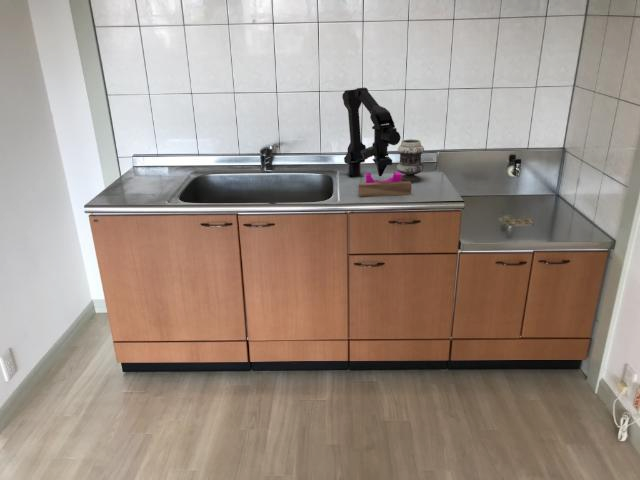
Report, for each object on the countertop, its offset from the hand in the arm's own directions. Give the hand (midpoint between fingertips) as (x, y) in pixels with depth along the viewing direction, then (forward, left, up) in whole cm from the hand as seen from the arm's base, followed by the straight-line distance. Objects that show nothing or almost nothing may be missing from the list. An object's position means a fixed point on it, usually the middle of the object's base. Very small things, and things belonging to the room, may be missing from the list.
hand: (380, 176), depth 223 cm
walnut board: (+10, 0, -5) cm, 11 cm away
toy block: (+3, +1, -6) cm, 6 cm away
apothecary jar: (-10, +16, -5) cm, 19 cm away
